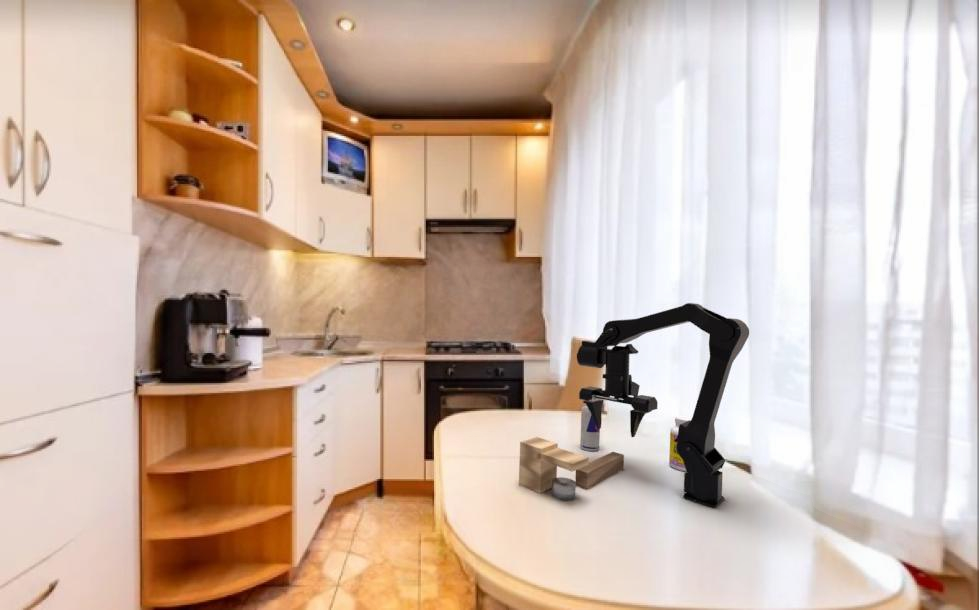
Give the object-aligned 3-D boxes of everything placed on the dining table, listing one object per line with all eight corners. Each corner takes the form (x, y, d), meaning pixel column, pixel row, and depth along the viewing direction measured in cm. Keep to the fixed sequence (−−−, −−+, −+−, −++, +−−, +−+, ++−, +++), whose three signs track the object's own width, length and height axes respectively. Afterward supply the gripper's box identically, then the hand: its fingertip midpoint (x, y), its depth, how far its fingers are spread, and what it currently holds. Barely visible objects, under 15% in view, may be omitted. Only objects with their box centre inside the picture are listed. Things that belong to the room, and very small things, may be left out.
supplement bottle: (668, 469, 106) (669, 418, 106) (670, 461, 112) (671, 413, 112) (697, 474, 103) (698, 422, 103) (697, 466, 109) (699, 417, 109)
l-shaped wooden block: (587, 497, 88) (588, 452, 88) (571, 506, 83) (572, 459, 84) (535, 477, 98) (536, 437, 98) (518, 484, 93) (520, 442, 93)
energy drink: (601, 452, 118) (602, 409, 118) (582, 451, 118) (583, 408, 118) (596, 446, 123) (598, 405, 123) (578, 445, 123) (579, 404, 123)
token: (579, 496, 88) (580, 482, 88) (566, 503, 85) (567, 489, 85) (560, 489, 92) (560, 475, 92) (546, 495, 88) (547, 481, 88)
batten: (623, 470, 105) (624, 454, 105) (586, 491, 92) (587, 472, 92) (612, 467, 107) (612, 451, 107) (575, 486, 94) (575, 469, 94)
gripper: (667, 372, 104) (665, 435, 103) (600, 364, 117) (598, 420, 116) (648, 376, 96) (646, 444, 95) (578, 367, 109) (576, 426, 108)
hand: (615, 432), depth 104 cm, fingers open, 9 cm apart
